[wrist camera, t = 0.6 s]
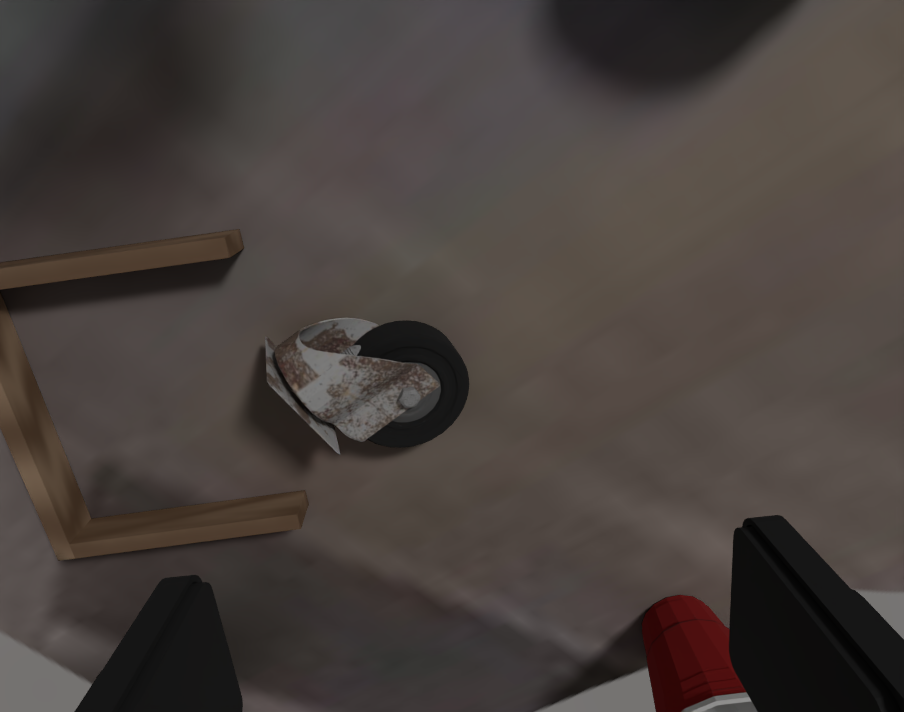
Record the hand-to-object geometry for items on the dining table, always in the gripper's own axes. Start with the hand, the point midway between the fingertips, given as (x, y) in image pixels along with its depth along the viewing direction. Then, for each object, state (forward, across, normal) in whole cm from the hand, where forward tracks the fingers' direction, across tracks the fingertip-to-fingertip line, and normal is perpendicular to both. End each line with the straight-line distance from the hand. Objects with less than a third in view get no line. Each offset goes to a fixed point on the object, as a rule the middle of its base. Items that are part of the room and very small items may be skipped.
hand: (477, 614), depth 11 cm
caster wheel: (+32, +5, +5) cm, 32 cm away
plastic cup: (+33, -15, +31) cm, 47 cm away
